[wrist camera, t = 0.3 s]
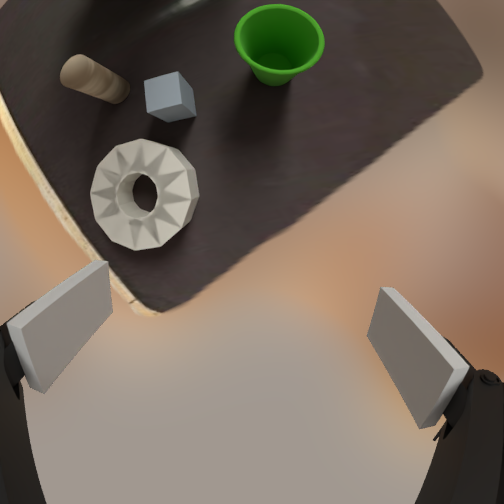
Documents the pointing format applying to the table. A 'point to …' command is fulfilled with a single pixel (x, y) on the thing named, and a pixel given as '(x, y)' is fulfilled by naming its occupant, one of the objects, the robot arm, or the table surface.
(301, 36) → the cup
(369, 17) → the table surface
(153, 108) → the square peg
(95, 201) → the socket
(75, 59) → the dowel
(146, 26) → the table surface
